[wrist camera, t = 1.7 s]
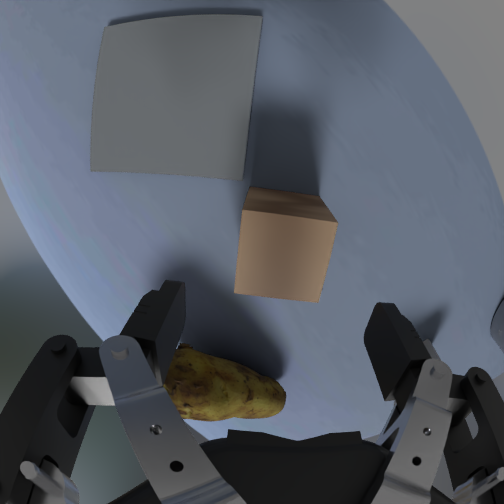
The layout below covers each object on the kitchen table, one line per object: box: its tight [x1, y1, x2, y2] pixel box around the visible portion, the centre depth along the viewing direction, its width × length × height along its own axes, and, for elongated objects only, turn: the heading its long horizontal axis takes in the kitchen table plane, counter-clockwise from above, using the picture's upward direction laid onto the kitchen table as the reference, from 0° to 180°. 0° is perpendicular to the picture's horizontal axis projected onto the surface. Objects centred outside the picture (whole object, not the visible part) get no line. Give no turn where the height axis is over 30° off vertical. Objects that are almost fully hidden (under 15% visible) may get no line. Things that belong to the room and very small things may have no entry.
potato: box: [163, 343, 286, 421], centre depth 23 cm, size 8×13×8 cm, turn 34°
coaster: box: [90, 14, 263, 181], centre depth 17 cm, size 12×12×1 cm
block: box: [234, 187, 338, 303], centre depth 18 cm, size 5×5×6 cm
